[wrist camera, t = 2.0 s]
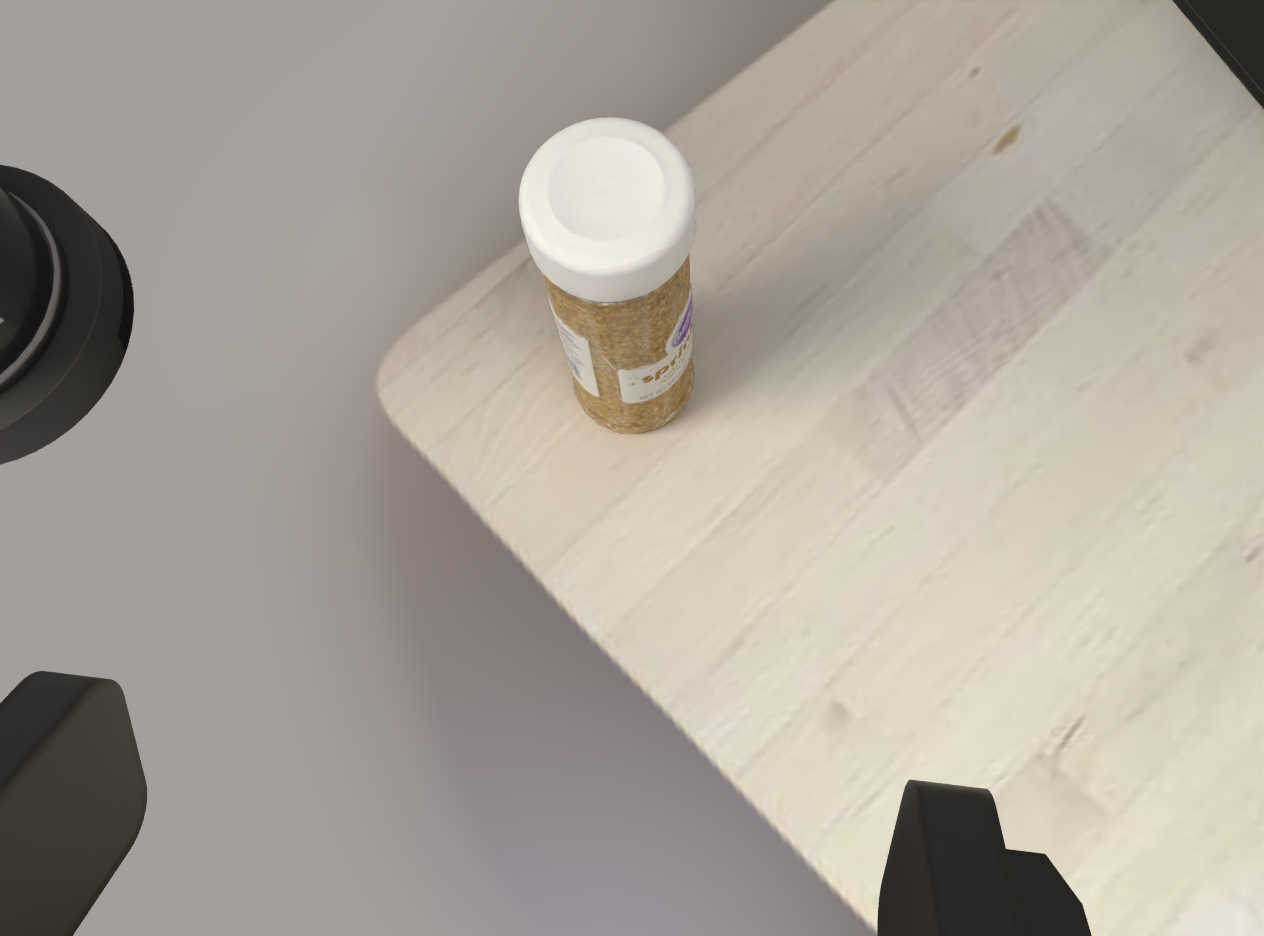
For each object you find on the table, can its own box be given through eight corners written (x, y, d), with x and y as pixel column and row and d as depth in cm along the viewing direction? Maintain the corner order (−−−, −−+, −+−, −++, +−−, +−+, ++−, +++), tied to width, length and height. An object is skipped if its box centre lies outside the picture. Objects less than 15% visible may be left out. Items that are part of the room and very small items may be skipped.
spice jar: (690, 440, 39) (690, 275, 26) (567, 432, 39) (505, 266, 26) (698, 325, 40) (702, 112, 27) (578, 318, 40) (525, 105, 27)
